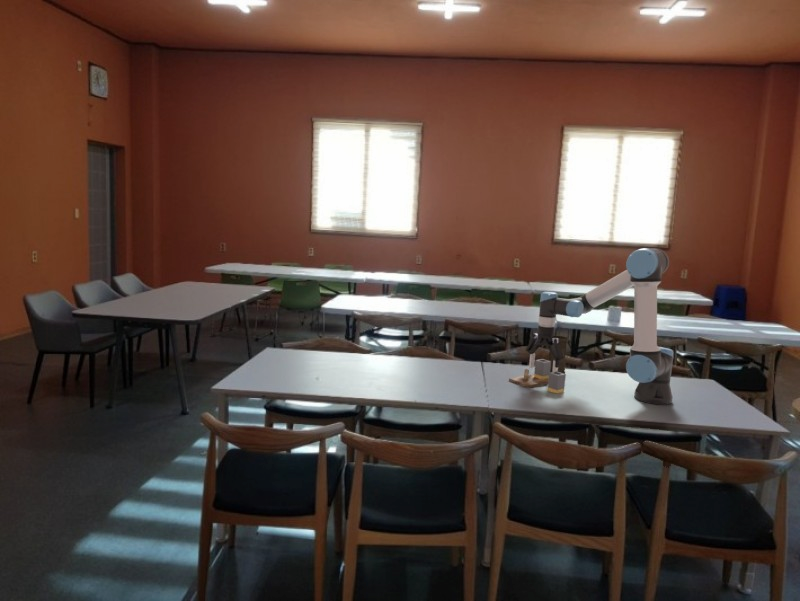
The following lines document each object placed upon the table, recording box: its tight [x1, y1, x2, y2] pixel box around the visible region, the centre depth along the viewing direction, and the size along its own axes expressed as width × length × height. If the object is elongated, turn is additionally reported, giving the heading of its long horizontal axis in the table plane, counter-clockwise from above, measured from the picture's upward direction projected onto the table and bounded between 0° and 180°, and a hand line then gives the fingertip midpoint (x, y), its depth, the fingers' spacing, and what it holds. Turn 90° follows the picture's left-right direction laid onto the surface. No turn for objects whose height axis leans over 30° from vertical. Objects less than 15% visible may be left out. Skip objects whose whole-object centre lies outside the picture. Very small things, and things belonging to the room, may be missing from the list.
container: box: [548, 335, 569, 374], centre depth 290 cm, size 9×9×18 cm
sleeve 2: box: [547, 371, 567, 394], centre depth 260 cm, size 5×5×8 cm
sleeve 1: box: [533, 358, 551, 380], centre depth 276 cm, size 5×5×8 cm
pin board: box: [508, 368, 549, 389], centre depth 274 cm, size 12×20×6 cm, turn 127°
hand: (543, 370), depth 276 cm, fingers open, 13 cm apart
